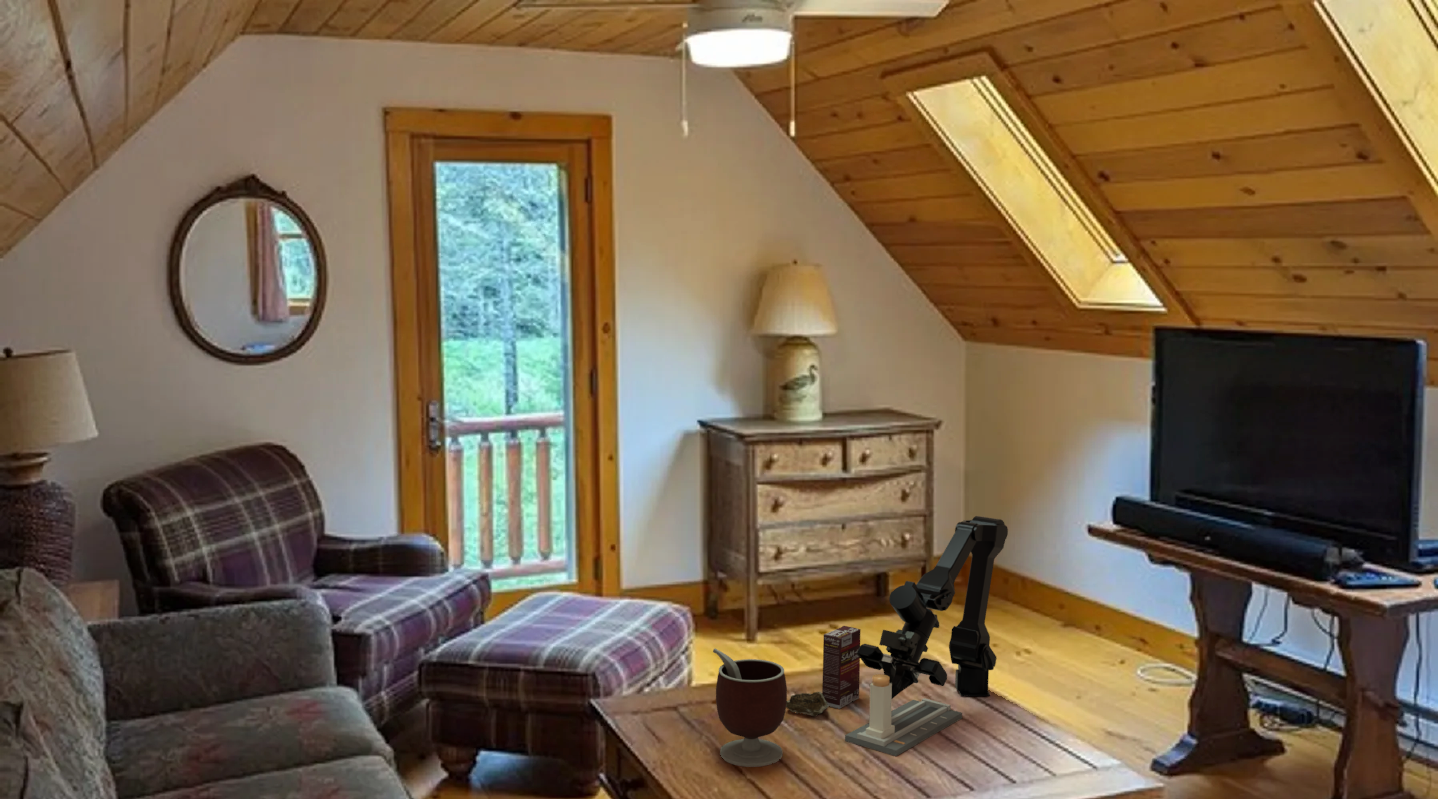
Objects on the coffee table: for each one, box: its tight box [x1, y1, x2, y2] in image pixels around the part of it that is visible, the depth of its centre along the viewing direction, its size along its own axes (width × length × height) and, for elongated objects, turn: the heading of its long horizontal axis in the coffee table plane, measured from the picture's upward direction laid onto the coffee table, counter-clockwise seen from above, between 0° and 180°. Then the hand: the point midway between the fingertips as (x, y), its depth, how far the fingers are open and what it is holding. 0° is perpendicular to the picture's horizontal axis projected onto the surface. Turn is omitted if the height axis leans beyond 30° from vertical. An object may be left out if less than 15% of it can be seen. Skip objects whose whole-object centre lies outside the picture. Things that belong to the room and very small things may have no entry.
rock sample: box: [786, 691, 829, 717], centre depth 267 cm, size 10×8×9 cm
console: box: [844, 698, 963, 757], centre depth 257 cm, size 26×12×2 cm, turn 140°
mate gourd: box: [712, 648, 788, 768], centre depth 244 cm, size 16×14×20 cm
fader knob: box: [866, 673, 895, 739], centre depth 249 cm, size 5×4×12 cm
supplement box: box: [821, 625, 861, 710], centre depth 272 cm, size 9×5×16 cm, turn 143°
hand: (885, 700), depth 250 cm, fingers closed, pressing on fader knob
